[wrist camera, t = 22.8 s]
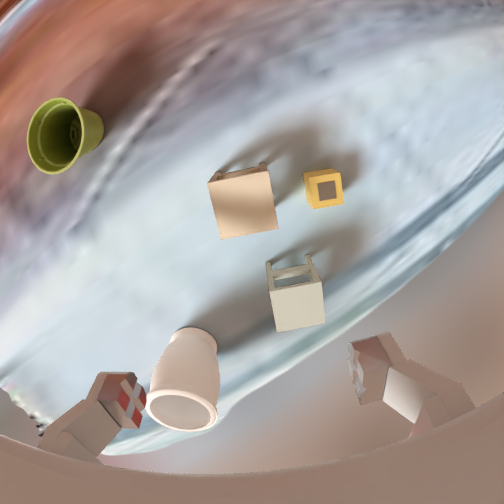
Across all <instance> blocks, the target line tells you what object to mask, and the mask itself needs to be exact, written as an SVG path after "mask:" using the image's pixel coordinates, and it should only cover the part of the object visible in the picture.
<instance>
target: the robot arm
mask: <svg viewBox="0 0 504 504" xmlns="http://www.w3.org/2000/svg"><path fill="white" fill-rule="evenodd" d="M348 350H349V353H350V355H351V356H350V358H349V359H348V364H349V365H348V366H349V373H350V377H351V380H352V383H354V384H356V394H357V397H358V400H359V403H360V405H363V404H367V403H371V402H375V401H379V400H383V401H384V402H385V403H387V404H388V405H389V406H391V407H392V408H393V409H395V410H396V411H398V412H399V413H400V414H402V415H403V416H404V417H406V418H407V419H408V420H410V421H411V422H413V423H414V427H413V429H412V431H411V434H410V436H409V438H408V439H405V440H402V441H400V442H396V443H394V444H391V445H388V446H384V447H381V448H378V449H375V450H372V451H368V452H364V453H361V454H357V455H353V456H349V457H345V458H341V459H337V460H332V461H328V462H323V463H318V464H312V465H307V466H301V467H295V468H288V469H280V470H272V471H262V472H251V473H234V474H176V473H175V474H174V473H161V472H150V471H139V470H131V469H125V468H118V467H112V466H106V465H104V464H103V463H102V462H101V461H100V460H99V459H97V458H96V457H97V456H98V455H99V454H100V453H101V452H102V450H103V449H104V448H105V447H106V446H107V445H108V444H109V443H110V442H111V440H112V439H113V438H114V437H115V436H116V435H117V434H118V433H119V431H120V430H121V428H129V429H139V427H140V423H141V420H142V417H143V416H142V414H141V411H142V410H143V409H144V408H145V406H146V402H147V398H146V392H145V390H144V388H143V387H142V385H140V384H138V383H137V377H136V376H135V374H134V373H133V372H100V373H99V374H98V375H97V377H96V379H95V381H94V383H93V385H92V387H91V389H90V391H89V394H88V396H87V398H86V400H82V401H80V402H79V403H78V404H76V405H75V406H74V407H73V408H71V409H70V410H69V411H67V412H66V413H65V414H64V415H62V416H61V417H60V418H58V419H57V420H56V421H54V422H53V423H52V424H51V425H49V426H48V427H47V428H46V430H45V433H44V435H43V437H42V439H41V441H40V443H39V445H38V448H35V447H32V446H30V445H27V444H24V443H21V442H18V441H16V440H13V439H10V438H8V437H5V436H3V435H1V434H0V504H504V392H503V393H501V394H500V395H498V396H496V397H494V398H493V399H491V400H489V401H488V402H486V403H484V404H482V405H480V406H479V407H477V408H476V407H475V406H474V404H473V402H472V401H471V399H470V397H469V396H468V394H467V393H466V391H465V389H464V388H463V386H462V385H461V383H459V382H457V381H454V380H452V379H450V378H448V377H446V376H444V375H441V374H440V373H437V372H435V371H433V370H431V369H429V368H427V367H425V366H423V365H420V364H419V363H416V362H414V361H412V360H406V358H405V357H404V355H403V353H402V352H401V350H400V348H399V347H398V345H397V343H396V342H395V340H394V338H393V337H392V335H391V333H389V332H385V333H382V334H378V335H376V336H371V337H368V338H364V339H360V340H356V341H352V342H349V349H348Z"/></svg>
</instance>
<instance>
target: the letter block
mask: <svg viewBox="0 0 504 504" xmlns="http://www.w3.org/2000/svg"><path fill="white" fill-rule="evenodd" d="M303 177H304V184H305V190H306V196H307V202H308V203H309V204H310V206H311V207H312V208H313V209H317V208H323V207H329V206H335V205H340V204H344V200H343V191H342V183H341V175H340V172H338V171H336V170H334V169H332V168H330V169H324V170H317V171H311V172H305V173H303Z"/></svg>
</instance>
